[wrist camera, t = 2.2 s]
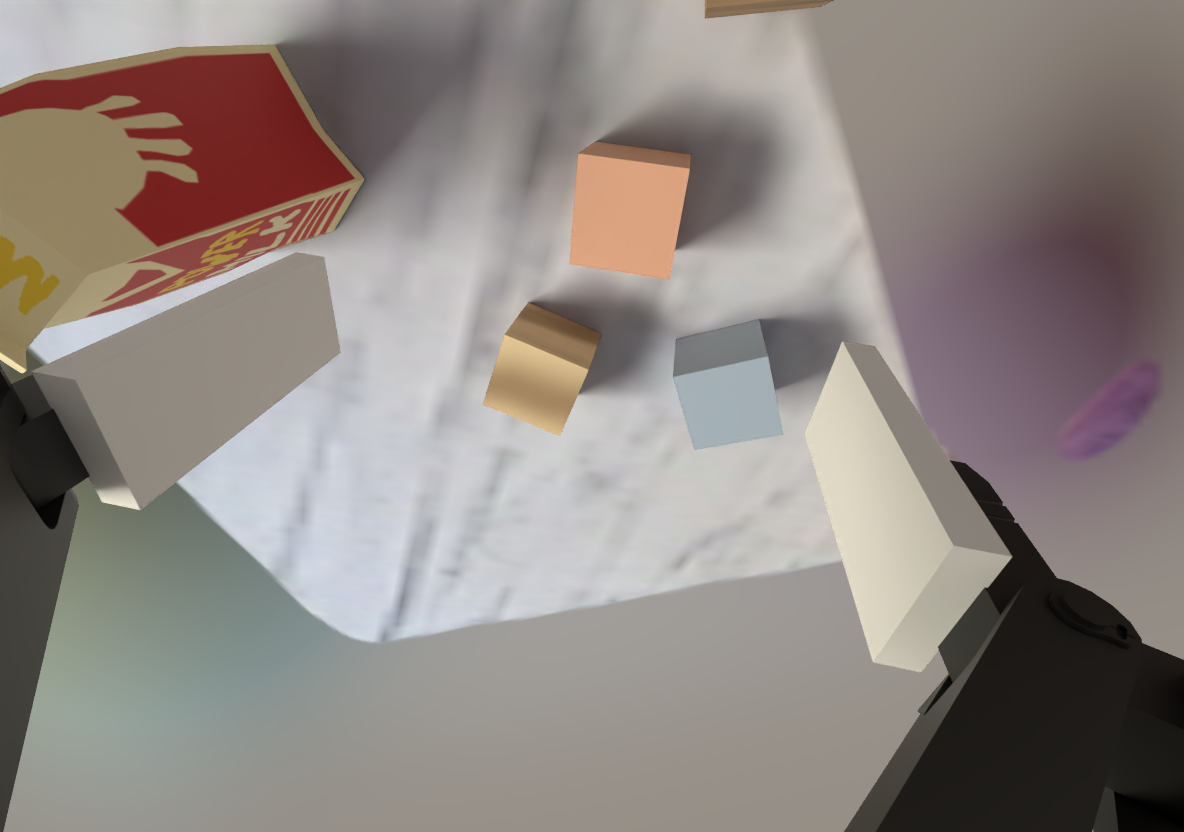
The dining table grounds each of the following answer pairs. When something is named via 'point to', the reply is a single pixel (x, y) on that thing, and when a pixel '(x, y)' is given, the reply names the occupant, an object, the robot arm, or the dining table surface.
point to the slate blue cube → (726, 386)
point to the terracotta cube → (628, 208)
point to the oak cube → (541, 368)
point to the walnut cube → (756, 6)
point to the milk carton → (153, 180)
